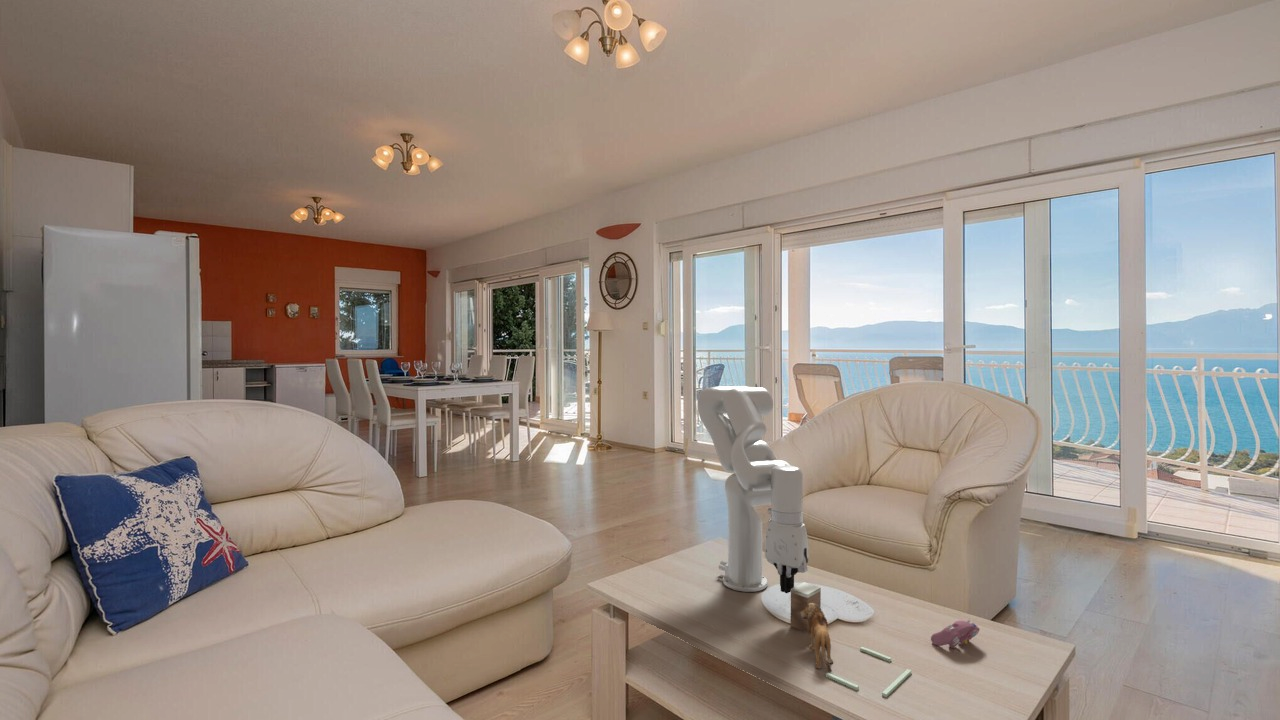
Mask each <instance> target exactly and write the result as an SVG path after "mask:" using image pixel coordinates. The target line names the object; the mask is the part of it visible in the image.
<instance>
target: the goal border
mask: <svg viewBox="0 0 1280 720" xmlns="http://www.w3.org/2000/svg"><path fill="white" fill-rule="evenodd" d="M859 651H860V652H863V653H865V654H867V655H871V656H874V657H875V658H878V659H881V660H884V661H886V662H890V663H891V661H892V657H890V656H887V655H886V654H883V653H880V652H877V651H875V650H873V649H870V648H867V647H863V646H860V648H859ZM911 674H912V669H909V668H906V670H905V671H903V672H902V673H901V674H900V675H899V676H898V677H896V679H895V680H894V681H892V683H891V684H890V685H888V687H886V688H885V689H884V690H883V691H882V692H881V696H882V697H884V698H888V696H889V695H891V694H892V692H893V691H895V690H896V689H897V688H898V687H899V686H900V685H901V684H902V683H903V682H904V681H905V680H906V679H907V678H908V677H910V676H911ZM825 677H826V678H827V677H829V678H828V679H830V678H831V679H830V680H832V679H833V680H832V681H834V680H835V681H834V682H836V681H837V683H839V684H841V685H843V686H845V685H846V687H848V688H850V689H852V688H853V689H852V690H854V691H859V689H860V686H859V685H857V684H856V683H854V682H850V681H848V680H846V679H845V678H842V677H839V676H837V675H835V674H833V673H831V672H827V673H825Z"/></svg>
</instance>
